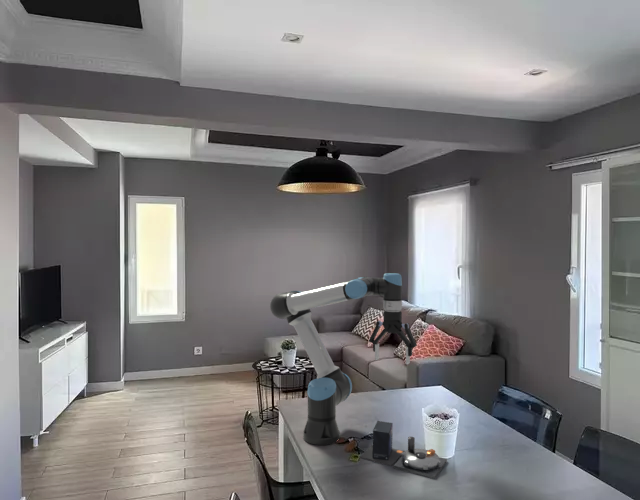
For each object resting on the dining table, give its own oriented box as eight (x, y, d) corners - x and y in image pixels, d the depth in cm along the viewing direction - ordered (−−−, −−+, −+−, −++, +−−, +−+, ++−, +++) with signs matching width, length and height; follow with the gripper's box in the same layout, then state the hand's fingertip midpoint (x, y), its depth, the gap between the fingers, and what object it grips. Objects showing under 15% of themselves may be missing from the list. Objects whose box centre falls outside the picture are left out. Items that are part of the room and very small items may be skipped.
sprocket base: (393, 468, 165) (393, 465, 165) (408, 452, 178) (408, 449, 178) (435, 479, 157) (435, 476, 157) (446, 461, 170) (446, 459, 170)
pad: (359, 457, 173) (359, 456, 173) (373, 445, 184) (373, 443, 184) (392, 466, 166) (392, 464, 166) (404, 452, 178) (404, 450, 178)
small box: (389, 461, 169) (389, 432, 169) (371, 458, 171) (371, 430, 171) (393, 449, 180) (393, 422, 179) (376, 446, 181) (376, 420, 181)
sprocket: (419, 473, 158) (419, 454, 158) (393, 458, 170) (393, 440, 170) (448, 463, 166) (448, 445, 166) (422, 450, 177) (422, 432, 177)
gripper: (361, 309, 194) (361, 359, 195) (418, 313, 182) (418, 367, 182) (368, 307, 201) (368, 356, 201) (424, 311, 188) (424, 363, 188)
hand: (392, 361), depth 191 cm, fingers open, 13 cm apart
